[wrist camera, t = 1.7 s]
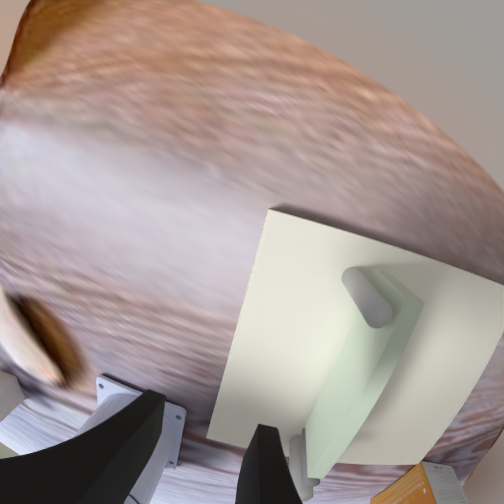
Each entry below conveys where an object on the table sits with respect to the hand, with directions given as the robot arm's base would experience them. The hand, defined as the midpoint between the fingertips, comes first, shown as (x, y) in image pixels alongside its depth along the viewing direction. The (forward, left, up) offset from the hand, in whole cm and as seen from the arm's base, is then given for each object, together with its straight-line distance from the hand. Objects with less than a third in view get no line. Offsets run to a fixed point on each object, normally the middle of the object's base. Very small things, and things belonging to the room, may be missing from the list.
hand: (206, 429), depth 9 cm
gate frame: (-2, -10, -10) cm, 14 cm away
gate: (-1, -7, -9) cm, 11 cm away
